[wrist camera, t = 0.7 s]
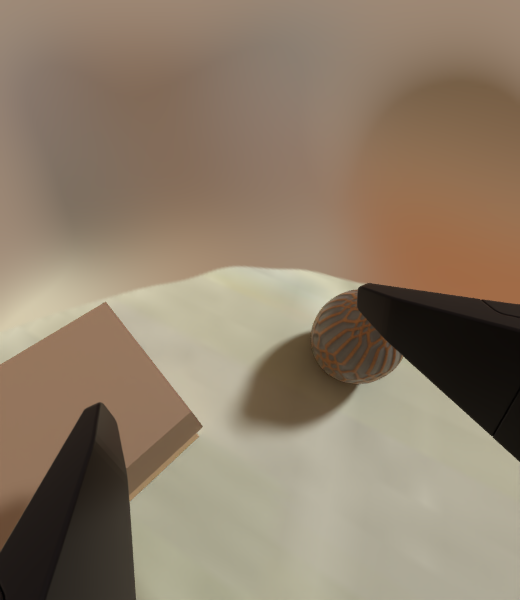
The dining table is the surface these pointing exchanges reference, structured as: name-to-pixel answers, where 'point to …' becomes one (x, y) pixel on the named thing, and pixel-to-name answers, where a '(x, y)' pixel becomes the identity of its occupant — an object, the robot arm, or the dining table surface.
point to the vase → (350, 343)
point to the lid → (83, 406)
